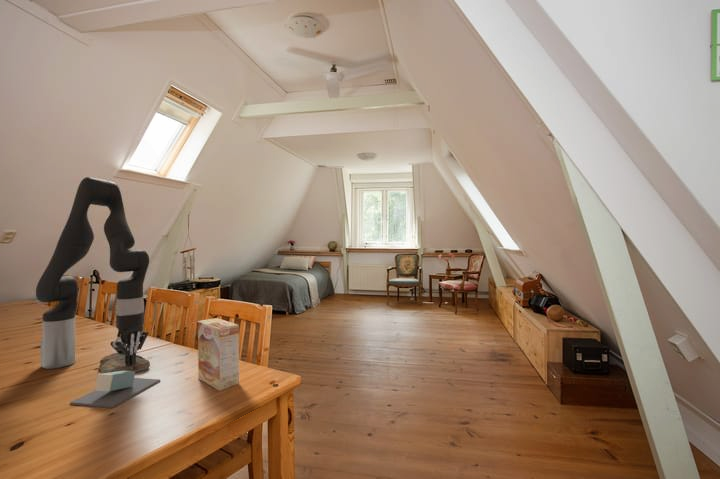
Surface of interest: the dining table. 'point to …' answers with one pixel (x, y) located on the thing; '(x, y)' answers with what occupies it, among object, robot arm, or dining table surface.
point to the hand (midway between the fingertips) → (130, 365)
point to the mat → (114, 394)
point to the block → (114, 380)
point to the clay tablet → (122, 364)
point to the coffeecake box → (218, 353)
